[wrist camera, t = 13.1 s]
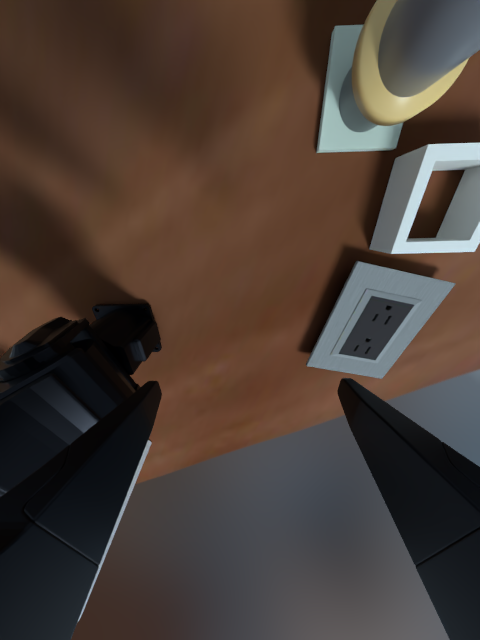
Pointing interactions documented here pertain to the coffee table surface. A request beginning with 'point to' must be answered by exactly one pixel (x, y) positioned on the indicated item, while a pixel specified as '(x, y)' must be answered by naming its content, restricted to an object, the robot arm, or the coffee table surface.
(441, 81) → the grey tapered rounded cylinder
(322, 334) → the electrical outlet
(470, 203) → the frame
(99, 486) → the robot arm
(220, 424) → the coffee table surface
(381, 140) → the rubber pad
